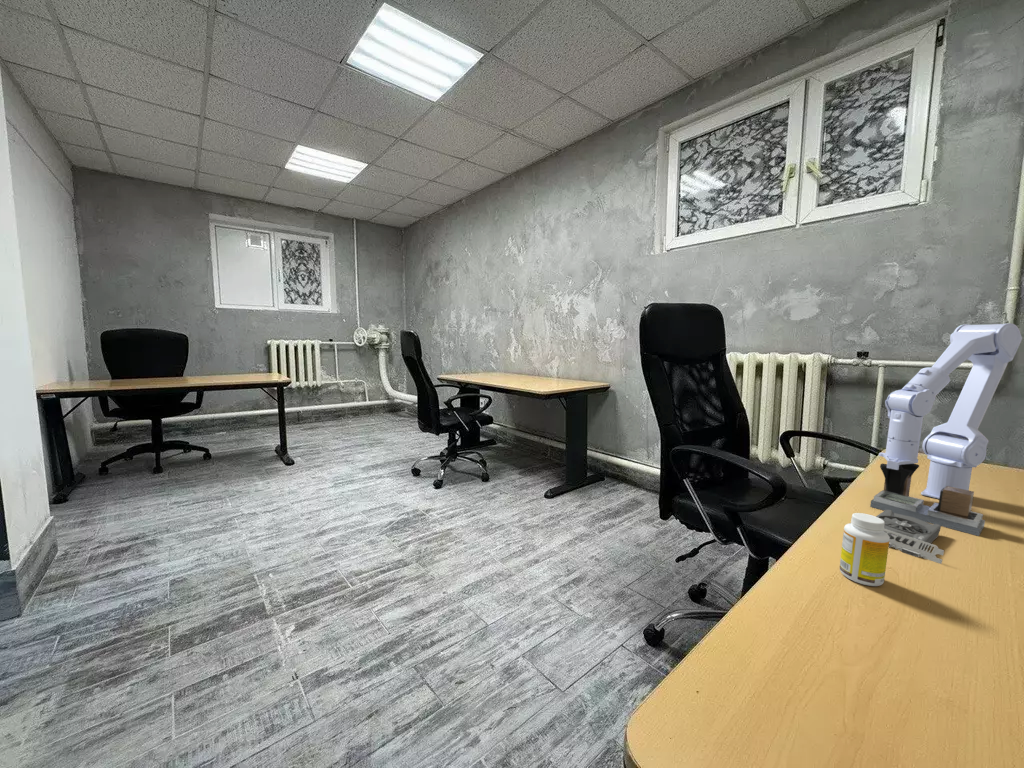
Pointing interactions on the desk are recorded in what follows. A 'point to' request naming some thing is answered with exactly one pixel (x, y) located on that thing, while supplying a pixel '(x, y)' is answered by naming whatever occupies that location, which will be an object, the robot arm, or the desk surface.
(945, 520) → the grey block holder
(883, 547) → the supplement bottle
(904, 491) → the walnut block
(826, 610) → the desk surface
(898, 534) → the graphics card
